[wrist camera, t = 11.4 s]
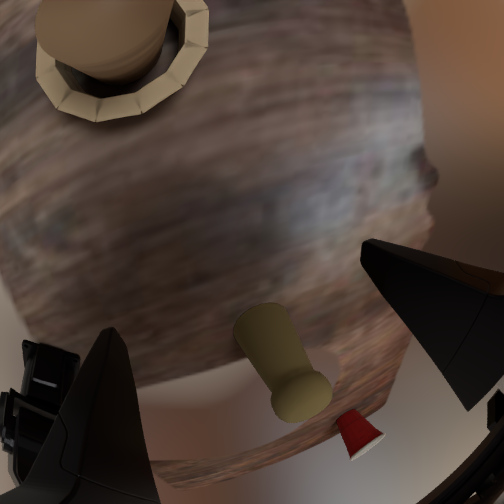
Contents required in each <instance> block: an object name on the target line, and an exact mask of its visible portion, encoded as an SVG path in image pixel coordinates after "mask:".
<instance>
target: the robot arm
mask: <svg viewBox="0 0 504 504" xmlns="http://www.w3.org/2000/svg"><path fill="white" fill-rule="evenodd" d="M360 262H361V265H362V267H363V268H364V270H365V271H366V272H367V274H368V275H369V277H370V278H371V280H372V281H373V283H374V284H375V286H376V287H377V288H378V290H379V291H380V293H381V294H382V296H383V297H384V298H385V299H386V301H387V302H388V303H389V304H390V306H391V307H392V308H393V309H394V311H395V312H396V313H397V314H398V316H399V317H400V318H401V319H402V321H403V322H404V323H405V324H406V326H407V327H408V328H409V330H410V331H411V332H412V333H413V335H414V336H415V337H416V339H417V340H418V341H419V343H420V344H421V345H422V347H423V348H424V349H425V351H426V352H427V353H428V355H429V356H430V357H431V359H432V360H433V362H434V363H435V365H436V366H437V367H438V369H439V370H440V371H441V373H442V375H443V376H444V378H445V379H446V380H447V382H448V383H449V385H450V386H451V388H452V389H453V391H454V392H455V394H456V395H457V397H458V398H459V400H460V401H461V403H462V404H463V406H464V408H465V409H466V410H467V411H470V410H471V409H472V408H473V407H474V406H475V405H476V404H477V403H478V402H479V401H480V400H481V399H482V398H483V397H484V396H485V395H486V394H487V393H488V392H489V391H490V390H491V388H493V386H495V385H496V386H497V387H498V389H497V391H496V392H495V393H494V395H493V396H492V397H491V399H490V400H489V401H488V403H487V408H488V409H487V412H488V414H487V416H488V417H487V428H488V429H489V431H490V433H489V434H488V435H487V437H486V438H485V439H484V440H483V441H482V442H481V444H480V445H479V446H478V447H477V448H476V449H475V450H474V452H473V453H472V454H471V455H470V456H469V457H468V458H467V459H466V460H465V461H464V462H463V463H462V464H461V465H460V466H459V467H458V468H457V469H456V470H455V471H454V472H453V473H452V474H451V475H450V476H449V477H447V478H446V479H445V480H444V481H443V482H442V483H441V484H440V485H439V486H437V487H436V488H435V489H434V490H433V491H432V492H430V493H429V494H428V495H427V496H425V497H424V498H423V499H422V500H420V501H419V502H418V503H416V504H504V273H503V272H499V271H494V270H490V269H486V268H482V267H478V266H474V265H470V264H466V263H463V262H459V261H456V260H455V261H454V260H452V259H449V258H445V257H442V256H438V255H434V254H431V253H427V252H424V251H420V250H416V249H412V248H409V247H405V246H401V245H397V244H393V243H389V242H385V241H381V240H377V239H373V238H371V239H368V240H366V241H364V242H363V243H362V247H361V257H360ZM22 349H23V359H24V366H25V371H24V376H23V381H22V387H21V392H20V393H18V392H16V391H15V390H14V389H12V388H10V390H9V393H8V392H1V395H0V439H1V442H2V450H3V451H5V452H7V453H8V472H9V474H10V476H11V478H12V480H13V482H14V484H15V486H16V488H14V489H12V490H10V491H8V492H6V493H4V494H2V495H0V504H161V503H160V499H159V495H158V492H157V488H156V485H155V482H154V478H153V474H152V470H151V466H150V462H149V458H148V453H147V449H146V444H145V439H144V434H143V429H142V424H141V418H140V412H139V405H138V398H137V392H136V387H135V382H134V378H133V374H132V369H131V365H130V360H129V355H128V351H127V347H126V344H125V343H124V341H123V340H122V338H121V337H120V335H119V334H118V332H117V331H116V329H115V328H114V327H109V328H106V329H103V330H102V331H101V332H100V334H99V336H98V337H97V339H96V341H95V343H94V344H93V346H92V348H91V350H90V352H89V353H88V355H87V357H86V359H85V361H84V363H83V364H82V366H81V368H80V370H79V364H80V357H79V356H78V355H75V354H71V353H67V352H63V351H60V350H56V349H53V348H50V347H47V346H43V345H40V344H37V343H34V342H31V341H28V340H23V342H22ZM14 415H15V416H14ZM474 492H476V494H475V495H473V496H472V497H470V496H471V495H472V494H473V493H474Z"/></svg>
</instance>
